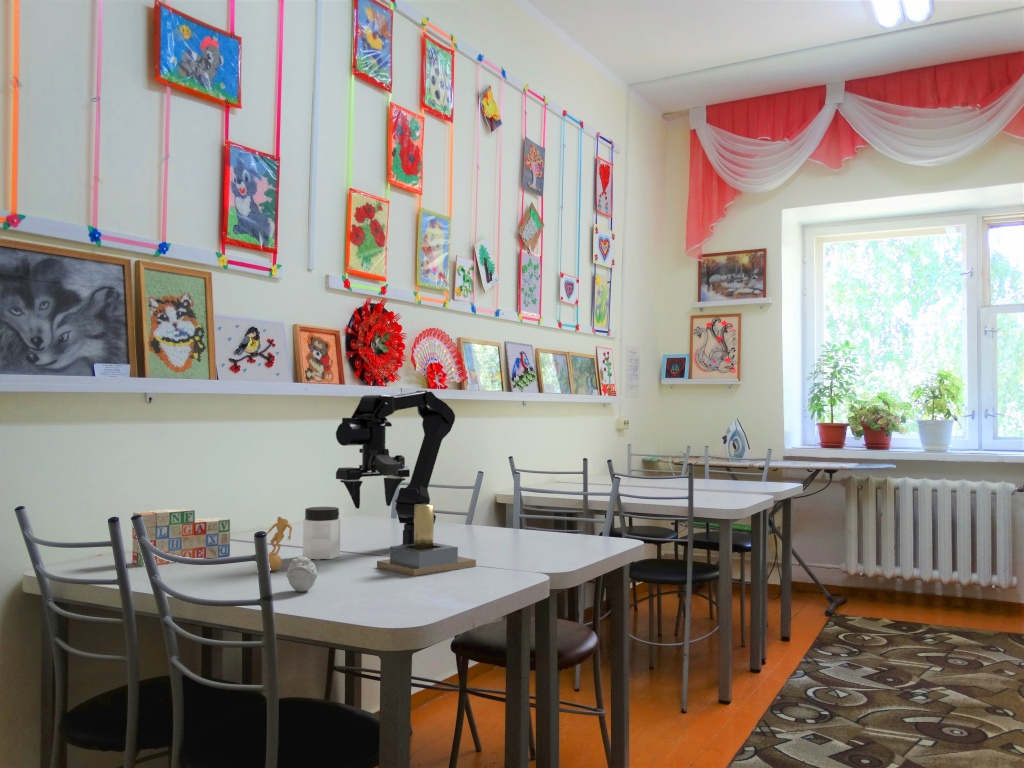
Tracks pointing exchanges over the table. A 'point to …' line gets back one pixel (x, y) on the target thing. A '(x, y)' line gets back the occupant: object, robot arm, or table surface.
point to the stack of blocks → (183, 535)
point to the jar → (321, 533)
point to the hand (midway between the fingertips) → (373, 507)
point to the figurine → (277, 542)
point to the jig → (424, 560)
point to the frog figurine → (301, 574)
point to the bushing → (423, 526)
